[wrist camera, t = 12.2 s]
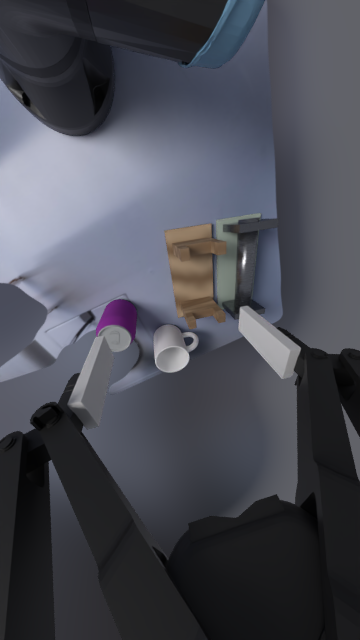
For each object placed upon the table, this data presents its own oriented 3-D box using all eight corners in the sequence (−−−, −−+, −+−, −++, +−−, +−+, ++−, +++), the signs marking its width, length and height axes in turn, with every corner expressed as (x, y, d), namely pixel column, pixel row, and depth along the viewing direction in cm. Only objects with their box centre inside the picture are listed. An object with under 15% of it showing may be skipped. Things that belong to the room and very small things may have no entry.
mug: (190, 315, 47) (200, 336, 38) (195, 338, 51) (206, 361, 43) (149, 328, 47) (150, 352, 38) (158, 350, 51) (161, 376, 42)
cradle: (164, 230, 35) (171, 233, 26) (209, 223, 36) (232, 223, 27) (177, 316, 46) (186, 339, 37) (212, 308, 47) (229, 330, 38)
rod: (222, 221, 36) (240, 221, 30) (255, 216, 37) (279, 215, 30) (222, 308, 47) (234, 321, 40) (247, 302, 48) (264, 315, 41)
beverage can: (137, 324, 45) (136, 353, 35) (107, 325, 44) (96, 356, 34) (136, 297, 42) (134, 322, 31) (103, 297, 40) (89, 323, 30)
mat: (216, 219, 36) (217, 219, 36) (259, 213, 37) (260, 213, 37) (217, 309, 48) (218, 310, 47) (250, 302, 49) (251, 303, 48)
